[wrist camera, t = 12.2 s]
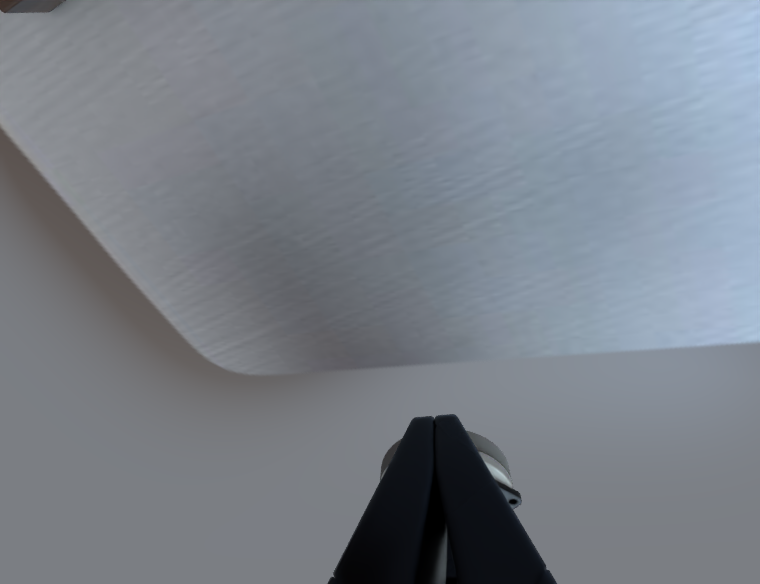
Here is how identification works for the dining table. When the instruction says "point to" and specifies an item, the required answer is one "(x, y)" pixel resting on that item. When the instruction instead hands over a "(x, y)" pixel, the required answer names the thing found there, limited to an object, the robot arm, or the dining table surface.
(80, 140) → the dining table surface
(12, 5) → the walnut button block
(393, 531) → the robot arm
